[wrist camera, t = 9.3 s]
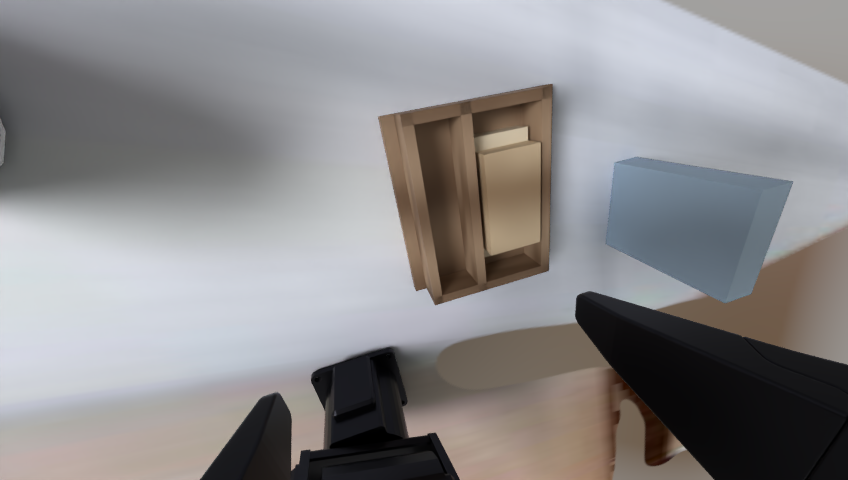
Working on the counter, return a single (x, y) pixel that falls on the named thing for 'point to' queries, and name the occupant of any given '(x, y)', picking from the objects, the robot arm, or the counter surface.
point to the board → (695, 222)
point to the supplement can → (2, 142)
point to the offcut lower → (500, 142)
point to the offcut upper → (509, 195)
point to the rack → (461, 190)
